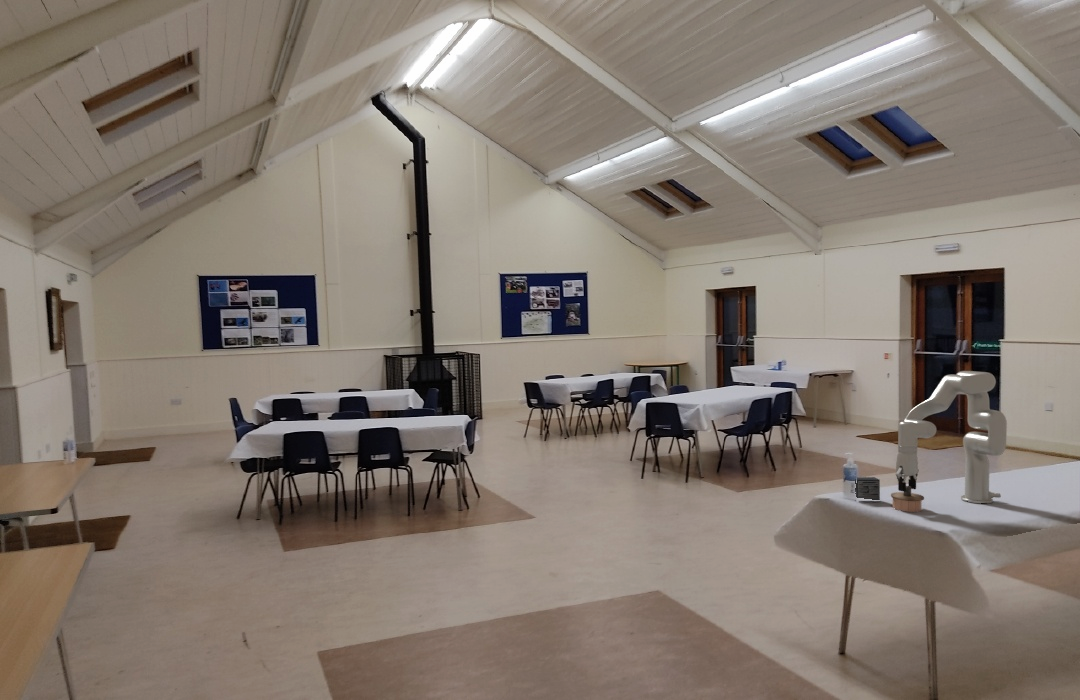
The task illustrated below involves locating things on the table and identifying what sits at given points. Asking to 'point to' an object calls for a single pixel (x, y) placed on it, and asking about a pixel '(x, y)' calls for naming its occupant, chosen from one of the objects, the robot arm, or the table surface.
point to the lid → (907, 495)
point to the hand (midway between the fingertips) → (907, 489)
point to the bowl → (907, 505)
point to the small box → (867, 488)
